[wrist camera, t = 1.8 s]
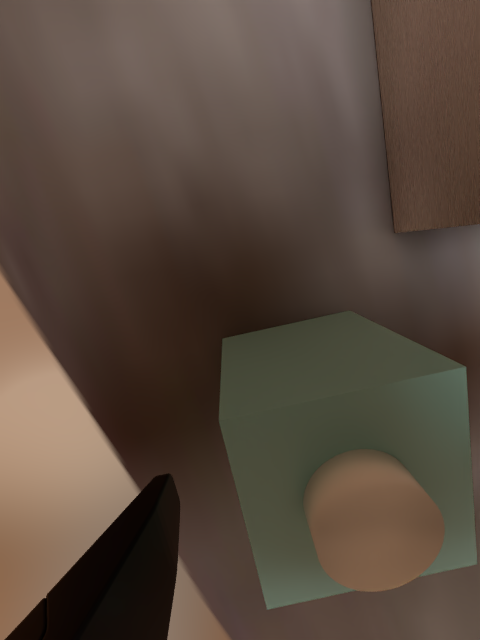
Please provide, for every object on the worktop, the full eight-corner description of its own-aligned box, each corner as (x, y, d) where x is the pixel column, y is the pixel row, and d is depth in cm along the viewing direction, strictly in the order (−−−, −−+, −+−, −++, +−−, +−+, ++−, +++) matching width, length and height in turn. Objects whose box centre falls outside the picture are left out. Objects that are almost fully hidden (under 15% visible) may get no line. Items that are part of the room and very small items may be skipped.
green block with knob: (365, 424, 13) (515, 612, 6) (249, 449, 13) (273, 665, 6) (349, 310, 12) (511, 388, 5) (222, 338, 12) (217, 452, 5)
